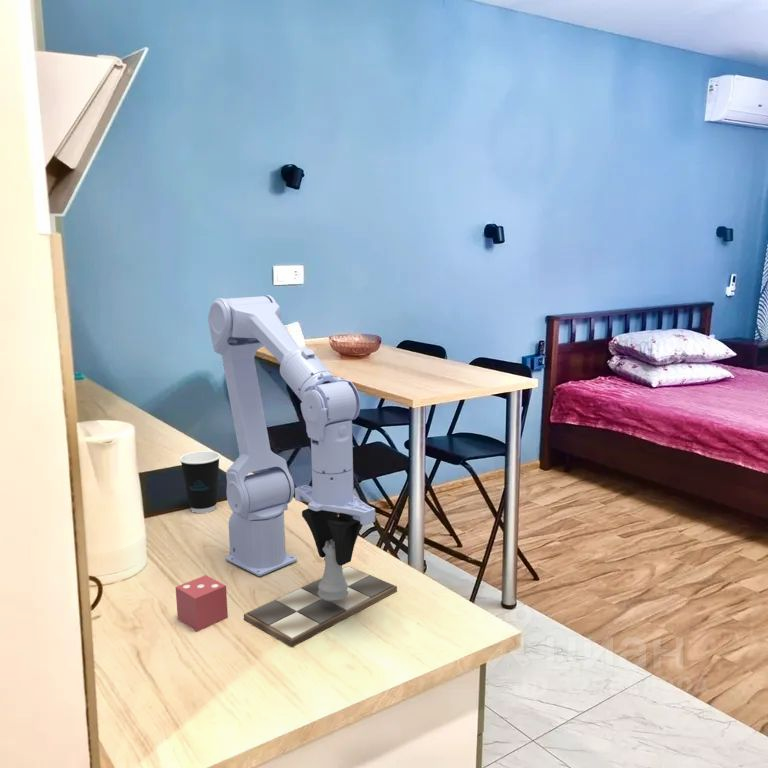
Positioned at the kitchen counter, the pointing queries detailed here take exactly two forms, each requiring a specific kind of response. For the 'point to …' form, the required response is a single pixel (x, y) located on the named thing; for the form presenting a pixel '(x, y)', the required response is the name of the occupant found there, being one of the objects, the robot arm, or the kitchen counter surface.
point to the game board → (317, 607)
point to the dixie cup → (201, 479)
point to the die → (201, 602)
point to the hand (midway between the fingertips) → (335, 558)
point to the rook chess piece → (332, 577)
